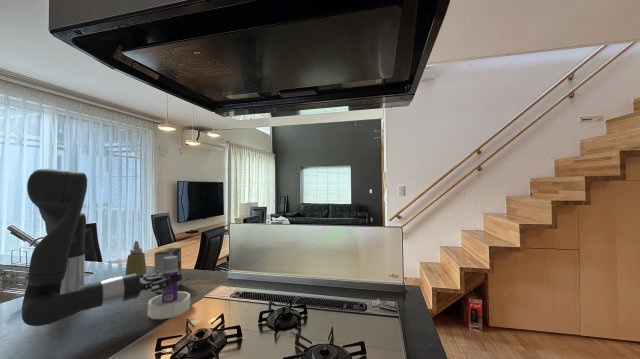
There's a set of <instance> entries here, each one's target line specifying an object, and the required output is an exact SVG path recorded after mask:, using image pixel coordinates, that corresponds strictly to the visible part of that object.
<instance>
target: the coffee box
mask: <svg viewBox="0 0 640 359" xmlns="http://www.w3.org/2000/svg"><path fill="white" fill-rule="evenodd" d="M167 256H178V274H181V275H182V247H172V248H171V247H169V248H168V247H167V248H165V249H162V250H160V251H157V252H154V273H157V272H160V273H162V271H163V258H164V257H167ZM180 285H182V280H181V281H178V287H179V286H180ZM154 292H155V293H162V289H160V290H157V291H154Z"/></svg>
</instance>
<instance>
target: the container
mask: <svg viewBox="0 0 640 359" xmlns="http://www.w3.org/2000/svg"><path fill="white" fill-rule="evenodd" d="M174 275H178V256H167V257H164V258H163V271H162V277H168V276H174ZM164 283H166V282H164ZM178 288H179V286H178V282H174V283H170V286H169V287H166V288H163V289H162V292H161V294H162V303H163V304H169V303H173V302H175V301H177V291H178Z"/></svg>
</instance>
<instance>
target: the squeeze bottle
mask: <svg viewBox="0 0 640 359" xmlns="http://www.w3.org/2000/svg"><path fill="white" fill-rule="evenodd" d="M129 252H130V253H129V254H128V255H127V261H126V266H125V267H126V268H125V274H124V276H125V275H130V274H135V273H136V274H138V275H139V278H140V275H144V274H147V266H146V265H147V264H146V256H145V255H146V254H145V252H143V248H142V247H140V244H139V241H138V240H135V241H134V243H133V247H132V248H131V249H130V250H129Z"/></svg>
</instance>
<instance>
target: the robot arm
mask: <svg viewBox="0 0 640 359" xmlns="http://www.w3.org/2000/svg"><path fill="white" fill-rule="evenodd" d="M26 184H27V185H26V191H27V196H28V198H29V199H30V201H31V202H32V204H34V205H35V206H36V207H37V208H38V211H39V214H40V216H41V218H42V220H43V221H44V226H45V231H46V235H45V236H44V237H43V238H42V239H41V240H40V241H39V242H38V243H37V245H36V246H35V247H34V249H33V251H32V254H31V257H30V262H29V267H28V274H27V285H26V287H25V288H26V289H25V293H24V294H23V299H22V304H21V319H22V321H23V323H24V324H25V325H28V326H31V327H41V326H46V325H50V324H53V323H56V322H58V321H59V322H60V321H62V320H63V319H66V318H68V317H72V316H74V315H77V313H81V312H83V311H88V310H91V309H95V308H96V309H97V308H99V307H104V306H110V305H114V304H117V303H122V302H125V301H130V300H133V299H138V297H139V296H140V295H141V294H140V293H141V292H143V291H151V293H152V292H153V293H154V292H155V291H157V290H160V289H163V288H166V287H169V286H170V283H174V282H178V281H181V282H182V280H183V274H182V273H181V274H178V275H174V276H168V277H162V273H160V272H157V273H155V272H152V273H145V274H144V275H140V278H139V275H138V274H136V273H135V274H130V275H125V274H124V275H120V276H115V277H111V278H107V279H104V280H101V281H95V282H91V283H90V282H89V283H86V284H85V266H86V264H85V262H86V261H85V260H86V258H85V257H86V255H85V254H86V253H85V252H86V251H85V250H86V249H85V248H86V247H85V246H86V245H85V244H86V243H85V242H86V232H87V231H86V230H87V217H86V215H85V213H82V210H83V207H84V202H85V200H86V194H87V190H88V177H87V175H86V174H85V173H84V172H82V171H74V170H66V169H58V168H57V169H56V168H55V169H53V168H40V169H37V170H34V171H32V173H31V175H30V176H29V177H28V179H27V183H26ZM164 282H166V283H164Z"/></svg>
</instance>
